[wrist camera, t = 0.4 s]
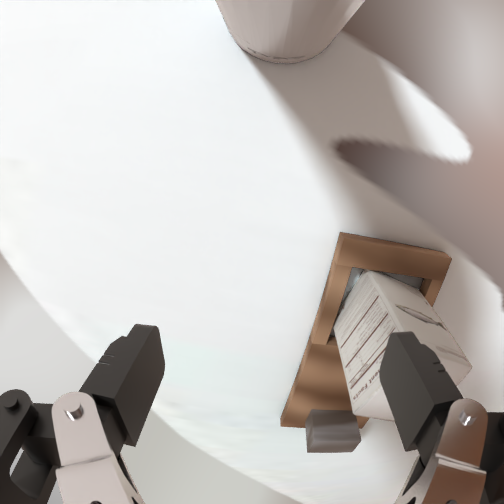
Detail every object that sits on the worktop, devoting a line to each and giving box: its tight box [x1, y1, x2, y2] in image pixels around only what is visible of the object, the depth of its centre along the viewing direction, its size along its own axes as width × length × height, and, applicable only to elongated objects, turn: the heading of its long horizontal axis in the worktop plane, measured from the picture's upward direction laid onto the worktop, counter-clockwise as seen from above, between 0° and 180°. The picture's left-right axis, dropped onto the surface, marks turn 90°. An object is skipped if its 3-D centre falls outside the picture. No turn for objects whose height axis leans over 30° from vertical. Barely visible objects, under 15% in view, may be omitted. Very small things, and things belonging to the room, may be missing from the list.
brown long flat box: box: [280, 232, 452, 453], centre depth 29 cm, size 27×12×6 cm, turn 171°
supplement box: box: [333, 269, 472, 421], centre depth 24 cm, size 7×7×13 cm
